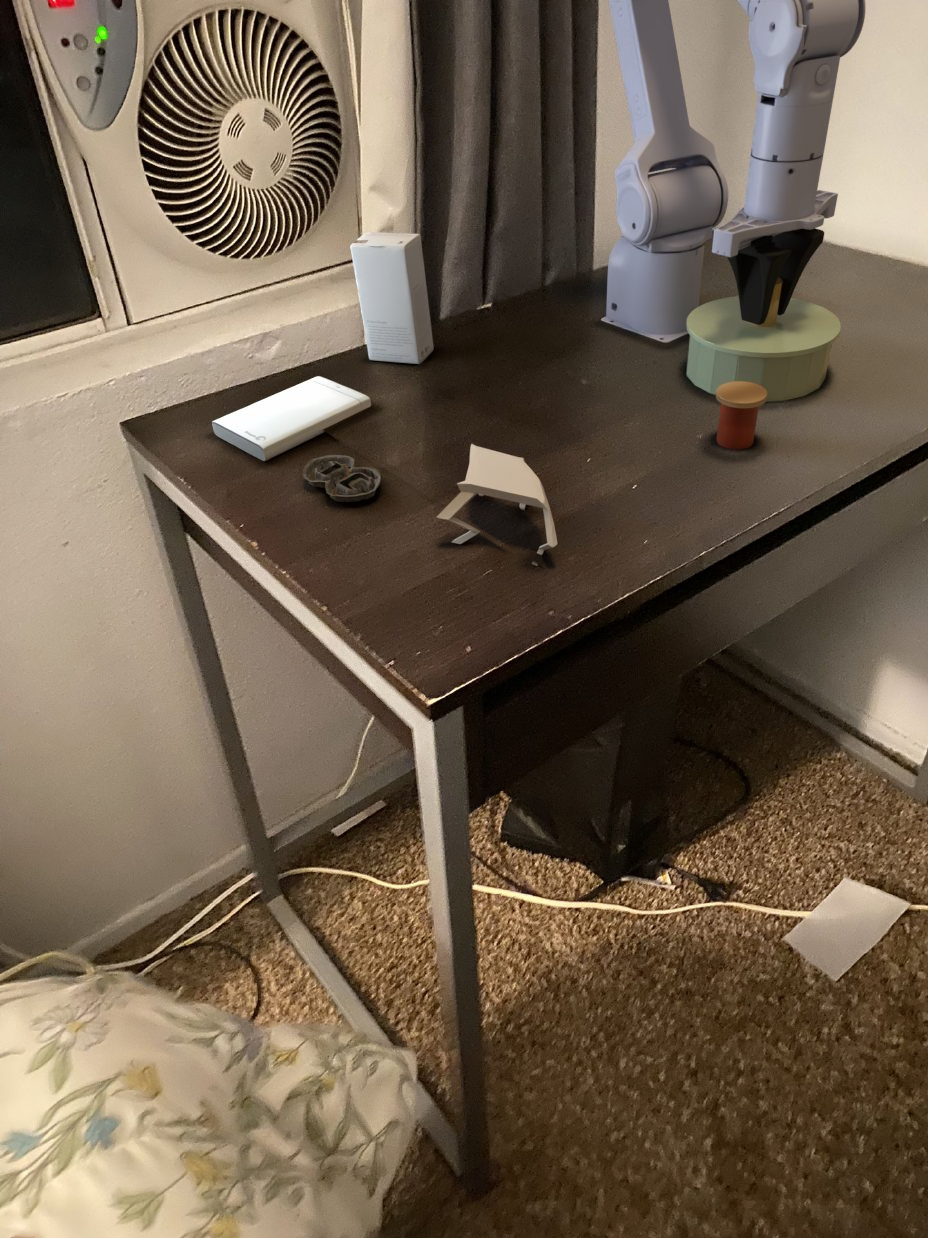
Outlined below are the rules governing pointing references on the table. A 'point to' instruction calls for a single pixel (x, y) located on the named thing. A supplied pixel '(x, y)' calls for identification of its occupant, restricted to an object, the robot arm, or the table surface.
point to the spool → (738, 413)
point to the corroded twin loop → (342, 478)
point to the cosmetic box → (393, 296)
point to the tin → (757, 371)
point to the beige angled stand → (499, 490)
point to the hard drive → (289, 417)
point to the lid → (764, 328)
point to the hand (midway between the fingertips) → (762, 316)
